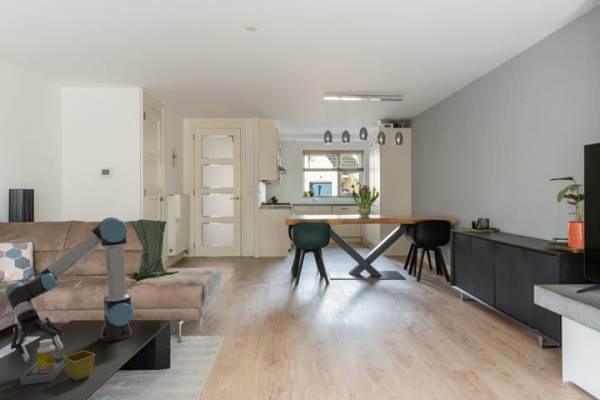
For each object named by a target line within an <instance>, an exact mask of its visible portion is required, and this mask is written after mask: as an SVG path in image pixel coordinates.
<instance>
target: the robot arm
mask: <svg viewBox="0 0 600 400" xmlns="http://www.w3.org/2000/svg"><path fill="white" fill-rule="evenodd" d="M127 233H128V227H127V225H126V223H125V222H124V221H123V220H122V219H120V218H118V217H113V216H112V217H107V218H105V219H102V221H101V222H100V223H99V224H98V225H96V227H94V228H93V229H92V230H91V231H90V234H89V235H87V236H86V237H85V238H83V239H82V240H81V241H79V242H78V243H77V244H75V245H74V246H73V247H72V248H70V249H69V250H68V251H67V252H65V253H64V254H63V255H62V256H60V257H58V259H56V260H55V261H54V262H52V263H51V264H50V265H49V266H47V267H46V268H44V269H43V270H42V271H41V272H38V273H37V274H36V275H35V276H34V278H33V280H32V281H30V282H27V283H26V284H24V283H23V282H16V283H12V284H10V285H9V286H8V287H6V289H5V295H6V299H7V300H8V301H7V302H8V303H9V305H10V307H11V309H12V311H13V314H14V315H15V318H16V320H17V322H18V324H19V325H17V324H16V325H14V326H13V328H12V332H13V335H12V340H11V345H10V349H11V350H13V349H15V350H16V351H18V354H19V355H20V356H22V358H23V360H24V362H25V363H26V362H28V361H29V360H30V358H31V357H30V355H29V352H28V351H27V347H26V346H25V344H23V342H24V341H25V338H26V337H27V335H28V334H33V333H37V332H40V333H41V332H42V333H45V334H47V335H49V336H51V337H53V341H54V342H55V345H56V347H57V349H58V351H62V349H63V348H64V345H63V343H62V341H63V338H62V337H61V335H62V334H63V331H64V330H63V329H62V328H61V327H59V326H58V325H57V324H55V323H54V322H52V321H51V320H50V318H49V317H45V319H41V318H40V315H39V314H38V313H39V312H37V309H36V307H35V306H34V303H33V302H32V301H33V299H35V298H38V297H39V296H41V295H44V294H45V293H47V292H49V291H52V290H53V289H54V288H55V289H56V287H58V285H59V284H58V281H57V280H58V279H59V278H60V277H62V276H63V275H64V274H65V273H67V272H68V271H69V270H71V269H72V268H74V266H75V265H77V264H78V263H80V262H81V261H82V260H84V259H85V258H86V257H88V256H89V254H91V253H92V252H94V251H95V250H96V249H97V248H99V247H100V246H101V247H102V248H103V249H104V252H105V265H106V277H107V290H108V294H105V296H104V297H103V318H104V319H103V323H104V324H103V327H102V330H101V333H100V340H101V341H103V342H116V341H122V340H124V339H127V338H130V337H131V336H132V333H133V332H132V331H133V330H132V328H131V326H130V325H131V324H130V323H129V322H130V321H131V319H132V318H133V315H134V310H133V307H132V300H131V299H132V296H131V294H130V293H128V287H127V286H128V285H127V274H126V273H127V272H126V261H125V259H126V258H125V248H124V247H126V245H127V244H128V243H127ZM20 331H23V334H22V335H21V337H20V339H19V341H18V336H19V332H20ZM17 341H18V343H17Z"/></svg>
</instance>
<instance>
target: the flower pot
mask: <svg viewBox="0 0 600 400" xmlns="http://www.w3.org/2000/svg"><path fill="white" fill-rule="evenodd" d="M66 356H67V357H64V363H65V367H64V369H65V372H66V373H67V375H68V376H69V378H70V379H73V380H76V381H80V380H82V379H85V378H87V377H89V376H90V375H91V374H92V373H93V372H92V371H93V369H94V366H95V359H96V354H95V353H93V352H90V351H87V350H81V351H78V352H75V353H73V354H70V355H66Z"/></svg>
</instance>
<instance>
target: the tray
mask: <svg viewBox="0 0 600 400" xmlns="http://www.w3.org/2000/svg"><path fill="white" fill-rule="evenodd" d="M67 356H68V355H63V356H62V355H61V356H55V369H54V370H53V371H51V372H48V373H38V372H37V361H35V363H34V364H32V365H31V367H30V368H29V369H28V370H27V371H26V372H25V373H24V374H23V375H21V377H20V378H19V379H20V380H19V385H20V386H24V385H25V386H26V385H33V384H40V383H48V382H49V383H50V381H51V382H53V381H55V379H56V378H57V377H58V375H59V374H60V373H61V371H62V370H63V369H65V363H64V357H67Z"/></svg>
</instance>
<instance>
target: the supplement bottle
mask: <svg viewBox="0 0 600 400" xmlns="http://www.w3.org/2000/svg"><path fill="white" fill-rule="evenodd" d="M53 341H54V340H53V339H52V338H47V339H41V340H40V341H39V347H38V348H37V350H36V362H37V372H38V373H48V372H51V371H53V370H54V369H55V357H56V346H55V345H54V344H53Z"/></svg>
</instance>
